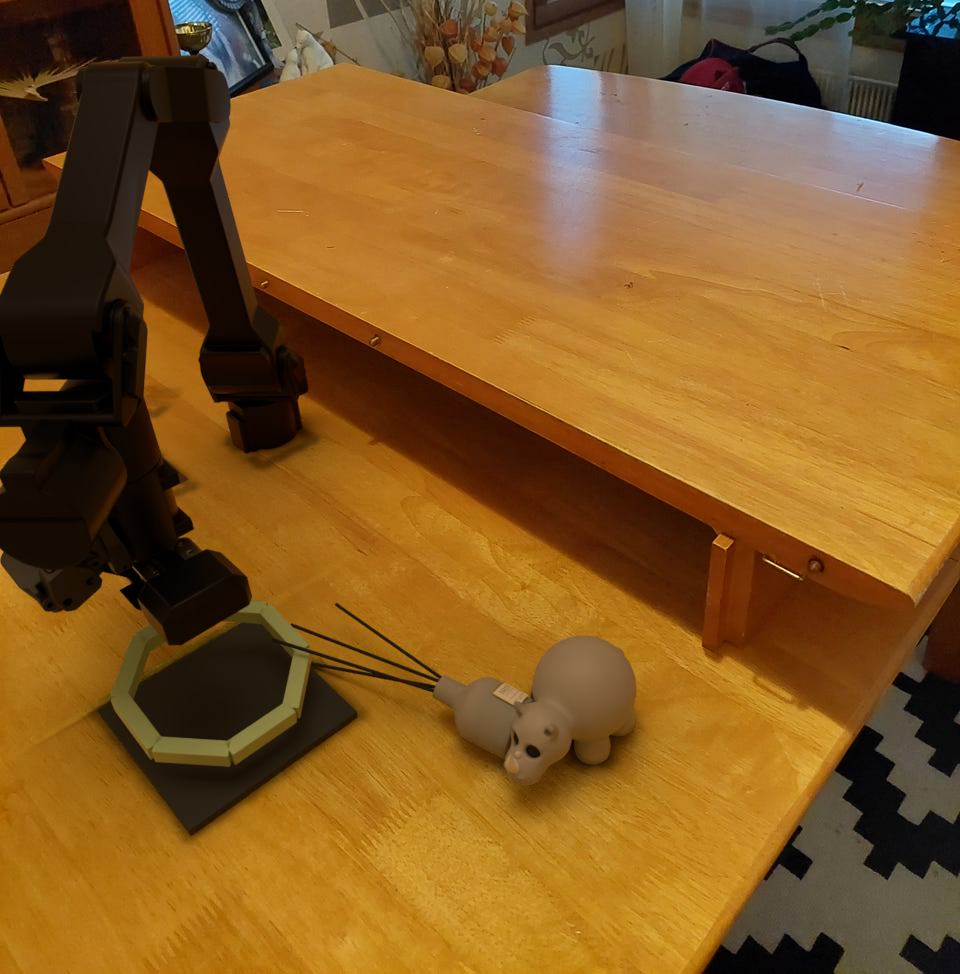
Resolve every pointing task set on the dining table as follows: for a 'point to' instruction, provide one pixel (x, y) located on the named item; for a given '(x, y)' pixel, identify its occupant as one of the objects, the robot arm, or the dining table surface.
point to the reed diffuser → (447, 694)
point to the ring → (203, 748)
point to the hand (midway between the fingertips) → (172, 626)
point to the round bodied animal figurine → (572, 707)
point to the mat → (226, 719)
